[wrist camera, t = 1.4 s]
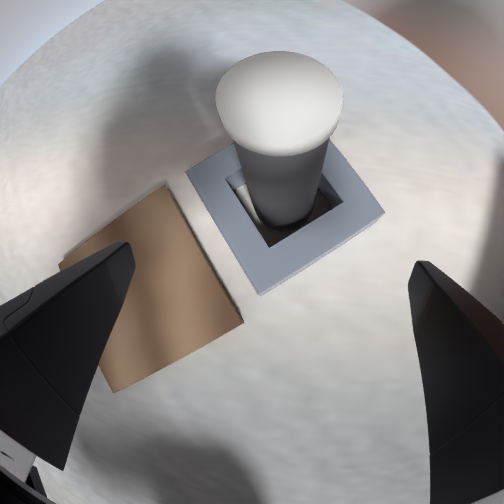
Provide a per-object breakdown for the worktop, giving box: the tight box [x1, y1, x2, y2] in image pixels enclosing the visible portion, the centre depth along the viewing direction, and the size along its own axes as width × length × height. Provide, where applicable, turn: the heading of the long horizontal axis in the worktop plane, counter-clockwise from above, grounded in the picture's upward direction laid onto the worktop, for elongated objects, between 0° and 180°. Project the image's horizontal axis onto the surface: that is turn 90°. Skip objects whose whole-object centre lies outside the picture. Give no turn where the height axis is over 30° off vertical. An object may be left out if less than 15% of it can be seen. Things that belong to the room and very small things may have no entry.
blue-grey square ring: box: [186, 139, 385, 296], centre depth 21 cm, size 10×10×3 cm
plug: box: [215, 51, 343, 231], centre depth 16 cm, size 5×5×12 cm
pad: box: [58, 185, 244, 393], centre depth 22 cm, size 12×12×1 cm
